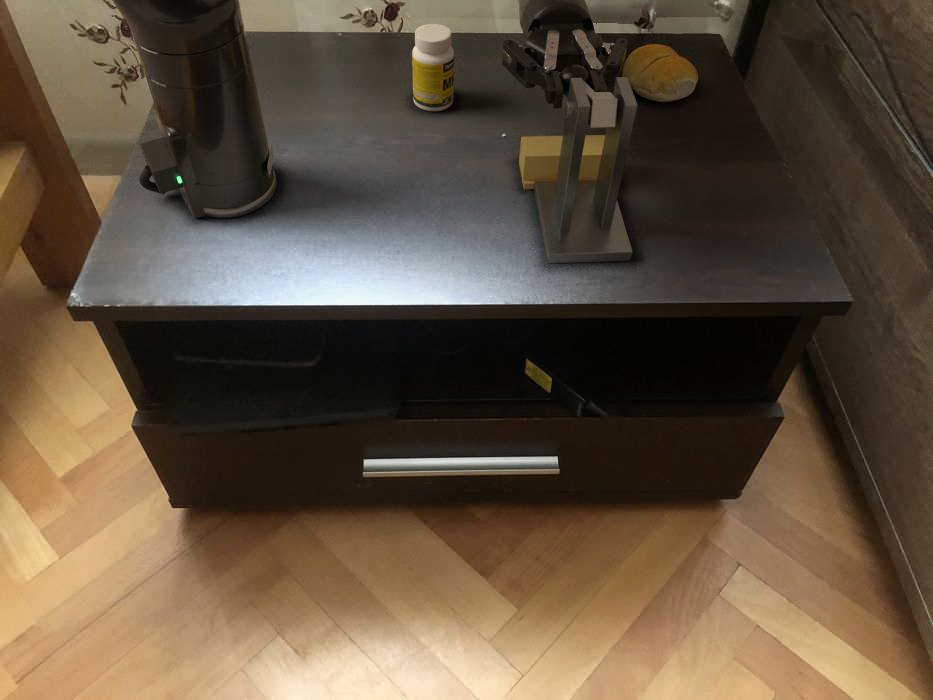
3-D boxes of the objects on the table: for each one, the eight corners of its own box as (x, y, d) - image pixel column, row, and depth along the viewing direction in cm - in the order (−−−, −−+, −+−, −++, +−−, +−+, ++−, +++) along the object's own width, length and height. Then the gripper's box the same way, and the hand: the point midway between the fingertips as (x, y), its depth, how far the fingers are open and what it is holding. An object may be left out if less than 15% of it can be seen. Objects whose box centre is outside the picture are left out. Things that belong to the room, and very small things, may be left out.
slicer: (533, 190, 81) (548, 57, 70) (609, 188, 82) (636, 56, 70) (547, 263, 74) (566, 129, 63) (630, 261, 74) (664, 128, 63)
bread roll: (661, 58, 99) (668, 28, 95) (705, 94, 93) (714, 63, 90) (606, 72, 96) (612, 42, 93) (648, 110, 91) (655, 79, 88)
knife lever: (554, 94, 80) (556, 61, 79) (585, 94, 80) (587, 61, 79) (584, 132, 67) (586, 94, 66) (620, 132, 68) (624, 94, 66)
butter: (518, 163, 84) (520, 133, 81) (611, 161, 84) (617, 131, 82) (522, 189, 81) (525, 159, 78) (619, 187, 82) (625, 157, 79)
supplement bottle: (448, 115, 89) (449, 46, 83) (408, 109, 90) (406, 40, 83) (457, 92, 92) (458, 24, 86) (418, 87, 93) (417, 19, 86)
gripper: (493, -16, 85) (509, 65, 73) (621, -17, 85) (657, 63, 74) (490, 50, 90) (504, 135, 79) (610, 48, 91) (642, 132, 80)
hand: (578, 99), depth 76 cm, fingers closed on knife lever, 3 cm apart
